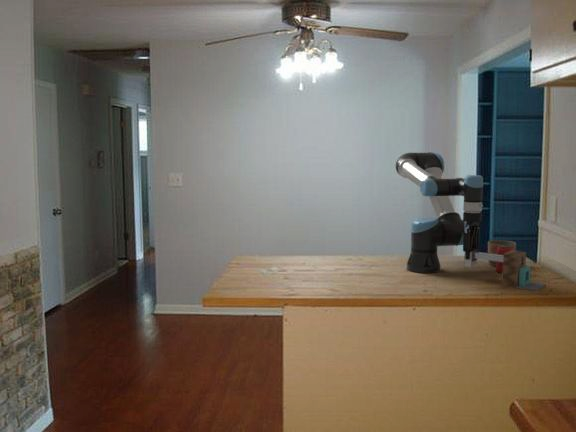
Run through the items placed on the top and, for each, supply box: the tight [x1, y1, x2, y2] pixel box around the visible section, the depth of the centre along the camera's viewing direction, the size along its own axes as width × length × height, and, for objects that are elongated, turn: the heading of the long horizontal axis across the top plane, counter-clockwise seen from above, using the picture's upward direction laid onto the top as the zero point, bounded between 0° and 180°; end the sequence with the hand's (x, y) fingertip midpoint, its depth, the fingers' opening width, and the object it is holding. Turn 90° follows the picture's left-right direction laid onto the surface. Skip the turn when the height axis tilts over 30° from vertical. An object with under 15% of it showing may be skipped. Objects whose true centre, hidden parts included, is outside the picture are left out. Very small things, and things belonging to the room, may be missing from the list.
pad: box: [516, 281, 547, 292], centre depth 238 cm, size 8×12×1 cm, turn 140°
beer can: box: [495, 244, 512, 274], centre depth 263 cm, size 7×7×12 cm
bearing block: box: [501, 250, 527, 288], centre depth 241 cm, size 6×9×13 cm, turn 140°
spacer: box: [519, 265, 531, 286], centre depth 239 cm, size 2×7×7 cm, turn 140°
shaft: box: [463, 248, 522, 263], centre depth 247 cm, size 23×4×5 cm, turn 50°
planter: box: [487, 239, 517, 267], centre depth 277 cm, size 12×12×11 cm
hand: (470, 265), depth 253 cm, fingers closed on shaft, 4 cm apart
